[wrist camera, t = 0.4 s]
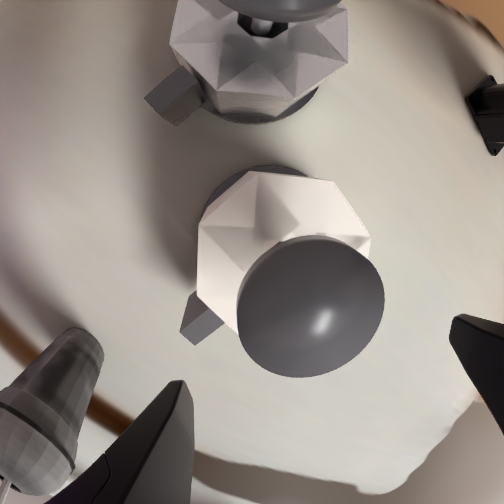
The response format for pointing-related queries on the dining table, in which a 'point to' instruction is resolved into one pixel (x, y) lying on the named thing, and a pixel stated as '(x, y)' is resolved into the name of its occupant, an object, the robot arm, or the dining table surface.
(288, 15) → the steel plunger
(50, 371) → the beverage cup
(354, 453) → the dining table surface
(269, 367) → the cream plunger
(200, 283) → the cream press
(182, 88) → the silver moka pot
